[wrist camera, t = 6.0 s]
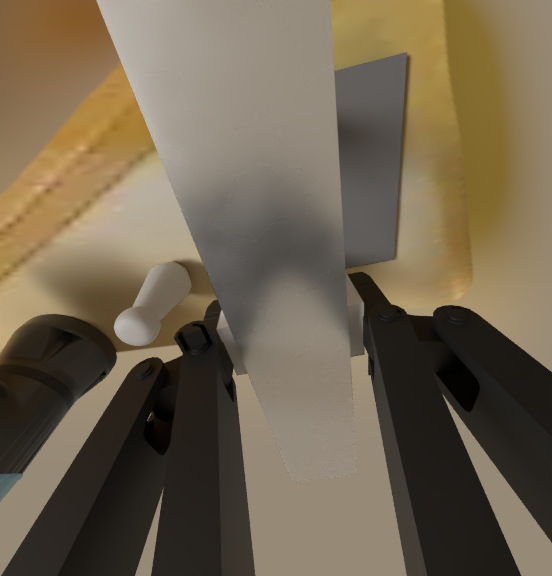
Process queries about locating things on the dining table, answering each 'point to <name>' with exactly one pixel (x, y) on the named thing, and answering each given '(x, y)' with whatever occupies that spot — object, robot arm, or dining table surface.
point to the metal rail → (258, 194)
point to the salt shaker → (153, 304)
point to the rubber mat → (370, 156)
